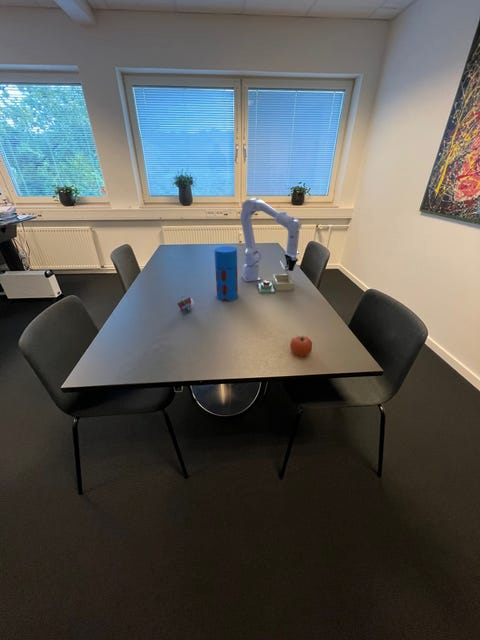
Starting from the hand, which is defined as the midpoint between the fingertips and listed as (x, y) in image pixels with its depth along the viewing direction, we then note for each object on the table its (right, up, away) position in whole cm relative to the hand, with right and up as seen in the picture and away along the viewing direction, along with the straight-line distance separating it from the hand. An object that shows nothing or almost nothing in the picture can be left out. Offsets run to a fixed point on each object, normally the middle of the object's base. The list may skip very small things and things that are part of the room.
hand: (289, 268), depth 142 cm
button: (-13, -9, 0) cm, 16 cm away
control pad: (-13, -11, +1) cm, 17 cm away
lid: (-2, -1, +1) cm, 2 cm away
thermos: (-34, -16, -7) cm, 38 cm away
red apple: (-5, -41, -47) cm, 62 cm away
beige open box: (-3, -8, +5) cm, 10 cm away
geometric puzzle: (-53, -21, -21) cm, 61 cm away
